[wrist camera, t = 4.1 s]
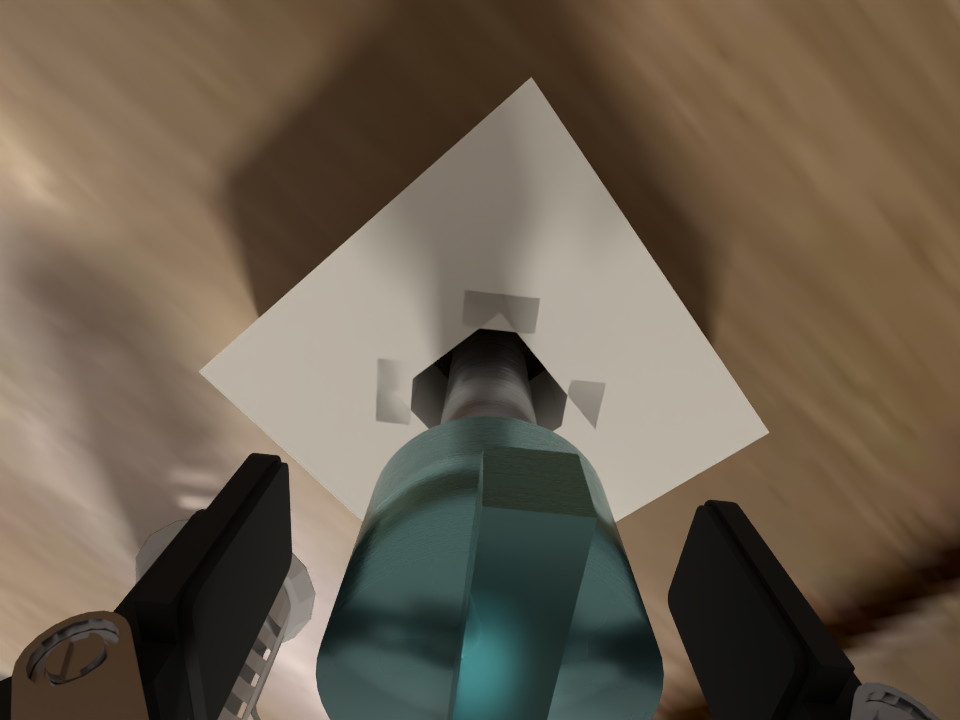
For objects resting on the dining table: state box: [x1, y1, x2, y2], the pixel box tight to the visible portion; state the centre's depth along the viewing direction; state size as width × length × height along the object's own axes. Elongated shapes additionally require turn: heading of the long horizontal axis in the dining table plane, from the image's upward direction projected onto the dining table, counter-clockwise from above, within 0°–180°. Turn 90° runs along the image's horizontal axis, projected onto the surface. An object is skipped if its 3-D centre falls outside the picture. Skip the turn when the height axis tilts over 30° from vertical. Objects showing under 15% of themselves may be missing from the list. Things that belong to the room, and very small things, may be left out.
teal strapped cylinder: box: [316, 328, 664, 720], centre depth 14 cm, size 9×6×16 cm, turn 174°
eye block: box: [199, 77, 769, 522], centre depth 20 cm, size 14×14×5 cm
